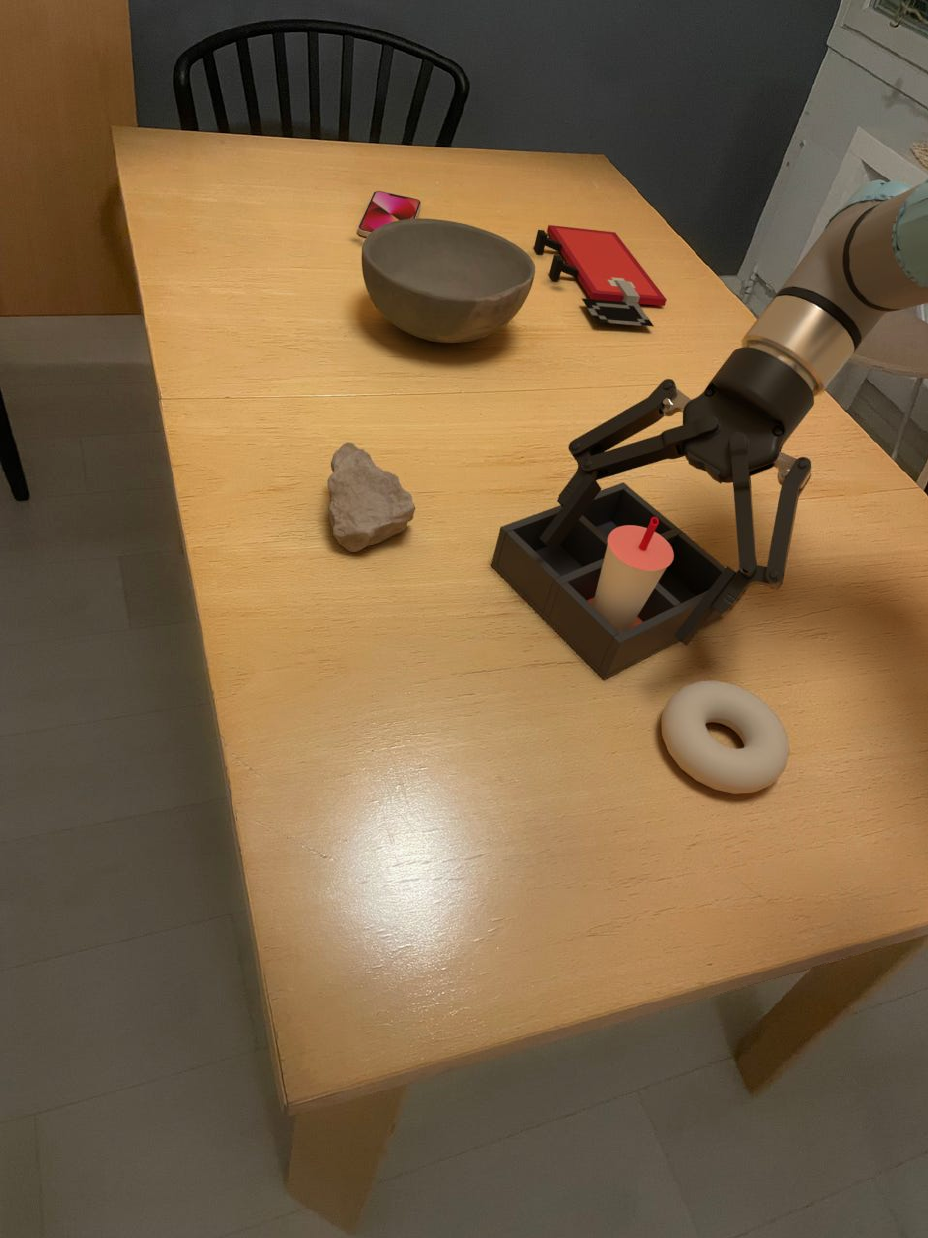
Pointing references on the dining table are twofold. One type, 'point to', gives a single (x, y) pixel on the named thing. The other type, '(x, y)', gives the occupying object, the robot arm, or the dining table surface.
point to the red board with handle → (602, 273)
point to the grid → (573, 572)
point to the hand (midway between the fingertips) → (610, 591)
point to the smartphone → (387, 211)
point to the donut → (715, 760)
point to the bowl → (445, 278)
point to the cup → (630, 572)
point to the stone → (365, 500)
